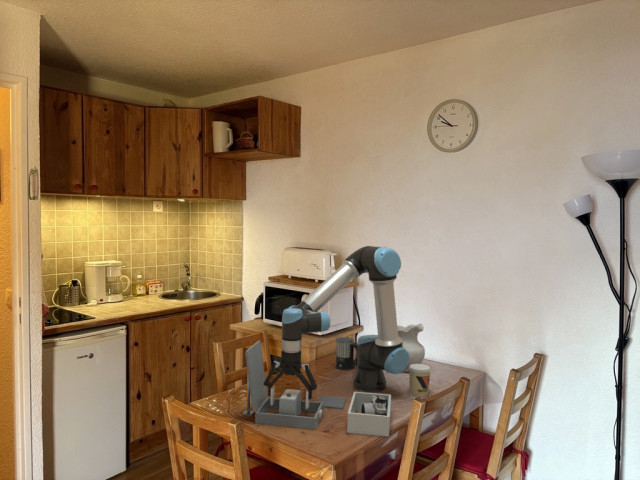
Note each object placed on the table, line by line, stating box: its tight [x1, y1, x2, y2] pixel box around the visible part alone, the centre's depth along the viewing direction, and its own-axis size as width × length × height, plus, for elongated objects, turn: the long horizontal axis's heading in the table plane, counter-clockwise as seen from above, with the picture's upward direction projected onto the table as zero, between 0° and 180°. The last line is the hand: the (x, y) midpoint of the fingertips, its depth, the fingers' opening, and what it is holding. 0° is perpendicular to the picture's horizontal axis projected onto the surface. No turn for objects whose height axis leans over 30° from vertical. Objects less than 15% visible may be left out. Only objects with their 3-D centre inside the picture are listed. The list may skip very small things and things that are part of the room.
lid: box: [244, 340, 268, 413], centre depth 181 cm, size 23×16×1 cm
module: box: [278, 388, 302, 416], centre depth 179 cm, size 6×10×10 cm, turn 170°
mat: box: [317, 395, 347, 410], centre depth 195 cm, size 11×11×1 cm
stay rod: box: [241, 372, 255, 417], centre depth 182 cm, size 4×4×24 cm
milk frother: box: [335, 336, 358, 371], centre depth 245 cm, size 14×16×15 cm
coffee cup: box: [408, 363, 432, 398], centre depth 207 cm, size 9×9×12 cm
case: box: [254, 396, 324, 430], centre depth 179 cm, size 23×16×4 cm
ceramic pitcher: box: [397, 323, 426, 373], centre depth 242 cm, size 22×20×25 cm
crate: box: [346, 391, 392, 438], centre depth 177 cm, size 15×22×7 cm
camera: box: [361, 395, 387, 416], centre depth 177 cm, size 16×9×10 cm, turn 3°
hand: (289, 405), depth 179 cm, fingers open, 13 cm apart
